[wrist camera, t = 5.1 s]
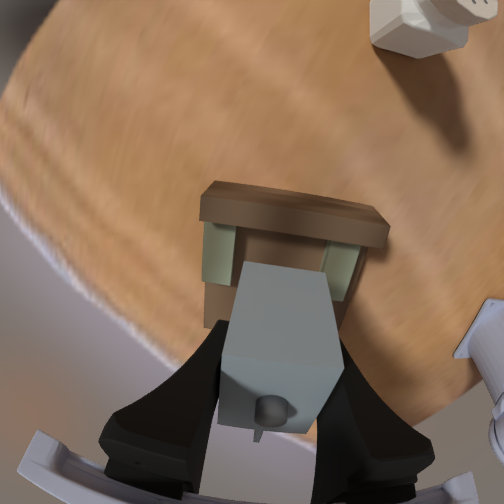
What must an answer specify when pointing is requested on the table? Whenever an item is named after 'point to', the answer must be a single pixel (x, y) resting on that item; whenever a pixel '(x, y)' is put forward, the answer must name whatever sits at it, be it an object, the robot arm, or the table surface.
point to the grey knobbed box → (279, 351)
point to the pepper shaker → (426, 24)
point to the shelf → (282, 240)
